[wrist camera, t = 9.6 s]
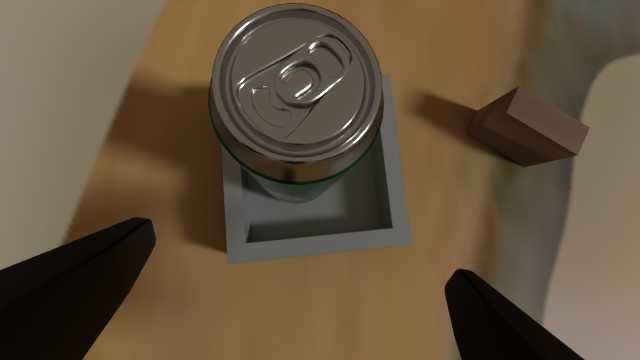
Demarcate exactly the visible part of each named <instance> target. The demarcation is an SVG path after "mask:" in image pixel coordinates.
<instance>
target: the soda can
mask: <svg viewBox="0 0 640 360" xmlns="http://www.w3.org/2000/svg"><path fill="white" fill-rule="evenodd" d="M208 105H209V111H210V118H211V121H212V124H213V127H214V130H215V132H216V134H217V136H218V138H219V140H220V142H221V144H222V145H223V146H224V148H225V149H226V150H227V151H228V153H229V154H230V155H231V156H232V157H233V158H234V159H235V160H236V161H237V162H238V163H239V164H240V165H241V166H242V167H243V168H244V169H245V170H246V171H247V172H248V173H249V174H250V175H251V176H252V177H253V178H254V179H255V180H256V181H257V182H258V183H259V184H260V185H261V186H262V187H263V188H264V189H265V190H266V191H267V192H268V193H269V194H270V195H272V196H273V197H275V198H276V199H278V200H280V201H283V202H286V203H291V204H301V203H307V202H310V201H312V200H314V199H316V198H318V197H319V196H321V195H322V194H323V193H324V192H325V191H326V190H328V189H329V188H330V187H331V186H332V185H333V184H334V183H336V182H337V181H338V180H339V179H340V178H341V177H342V176H343V175H345V174H346V173H347V172H348V171H349V170H350V169H351V168H352V167H354V166H355V165H356V164H357V163H358V162H359V161H360V160H361V159H362V158H363V157H364V156H365V155H366V153H367V152H368V151H369V149H370V148H371V146H372V145H373V143H374V142H375V139H376V137H377V135H378V133H379V130H380V127H381V123H382V119H383V112H384V95H383V88H382V77H381V71H380V67H379V63H378V60H377V58H376V55H375V53H374V51H373V49H372V47H371V46H370V44H369V42H368V41H367V39H366V38H365V37H364V36H363V34H362V33H361V32H360V31H359V30H358V29H357V28H356V27H355V26H354V25H353V24H351V23H350V22H349V21H347V20H346V19H344V18H343V17H341V16H340V15H338V14H336V13H334V12H332V11H330V10H328V9H325V8H321V7H318V6H315V5H309V4H302V3H287V4H278V5H274V6H270V7H267V8H264V9H262V10H259V11H257V12H255V13H253V14H251V15H249V16H248V17H246V18H245V19H243V20H242V21H241V22H240V23H238V24H237V25H236V26H235V27H234V28H233V29H232V30H231V31H230V33H229V34H228V35H227V36H226V37H225V39H224V41H223V42H222V44H221V46H220V48H219V50H218V52H217V55H216V58H215V61H214V66H213V71H212V77H211V82H210V87H209V104H208Z"/></svg>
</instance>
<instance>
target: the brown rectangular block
mask: <svg viewBox="0 0 640 360" xmlns="http://www.w3.org/2000/svg"><path fill="white" fill-rule="evenodd" d="M588 130H589V127H588V126H586V125H584V124H583V123H581V122H579V121H578V120H576V119H574V118H573V117H571V116H569V115H568V114H566V113H564V112H562V111H561V110H559V109H557V108H556V107H554V106H552V105H551V104H549V103H547V102H546V101H544V100H542V99H541V98H539V97H537V96H536V95H534V94H532V93H530V92H529V91H527V90H525V89H524V88H522V87H520V86H518V87H517V88H515V89H513V90H512V91H510V92H508V93H507V94H505V95H503V96H502V97H500V98H498V99H496V100H495V101H493V102H491V103H490V104H488V105H486V106H485V107H483V108H481V109H480V110H478V111H477V113H476V115H475V117H474V119H473V121H472V123H471V125H470V127H469V129H468V131H467V133H468V134H470V135H472V136H473V137H475V138H477V139H479V140H480V141H482V142H484V143H485V144H487V145H489V146H490V147H492V148H494V149H495V150H497V151H499V152H501V153H502V154H504V155H506V156H507V157H509V158H511V159H512V160H514V161H516V162H517V163H519V164H521V165H523V166H524V167H527V166H532V165H536V164H541V163H545V162H549V161H554V160H558V159H563V158H567V157H572V156H576V155H578V154H579V152H580V149H581V147H582V144H583V142H584V140H585V137H586V135H587V133H588Z"/></svg>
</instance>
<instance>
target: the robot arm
mask: <svg viewBox="0 0 640 360" xmlns="http://www.w3.org/2000/svg"><path fill="white" fill-rule="evenodd" d="M155 242H156V237H155V233H154V229H153V224H152V221H151V220H150V219H147V218H141V217H134V218H131V219H128V220H126V221H123V222H121V223H118V224H116V225H113V226H111V227H108V228H106V229H103V230H101V231H98V232H95V233H93V234H90V235H88V236H85V237H83V238H80V239H78V240H75V241H73V242H70V243H68V244H65V245H63V246H60V247H58V248H55V249H52V250H50V251H47V252H45V253H42V254H40V255H37V256H35V257H32V258H30V259H27V260H25V261H22V262H20V263H17V264H15V265H12V266H9V267H7V268H4V269H2V270H0V360H82V359H83V358H84V356H85V355H86V353H87V352H88V351H89V349H90V348H91V346H92V345H93V344H94V342H95V341H96V339H97V338H98V336H99V335H100V334H101V332H102V331H103V329H104V328H105V326H106V325H107V324H108V322H109V321H110V319H111V318H112V316H113V315H114V314H115V312H116V311H117V309H118V308H119V306H120V305H121V304H122V302H123V301H124V299H125V298H126V296H127V295H128V293H129V292H130V290H131V288H132V287H133V285H134V283H135V281H136V280H137V278H138V276H139V274H140V272H141V270H142V269H143V267H144V265H145V263H146V261H147V259H148V258H149V256H150V254H151V252H152V250H153V248H154V246H155ZM445 296H446V301H447V305H448V310H449V314H450V319H451V323H452V328H453V332H454V336H455V340H456V343H457V346H458V349H459V352H460V355H461V358H462V360H584V359H583V358H582V357H580V356H579V355H578V354H577V353H575V352H574V351H573V350H572V349H570V348H569V347H568V346H567V345H565V344H564V343H563V342H561V341H560V340H559V339H558V338H556V337H555V336H554V335H552V334H551V333H550V332H549V331H548V330H546V329H545V328H544V327H542V326H541V325H540V324H539V323H537V322H536V321H535V320H534V319H532V318H531V317H530V316H528V315H527V314H526V313H525V312H523V311H522V310H521V309H520V308H518V307H517V306H516V305H515V304H513V303H512V302H511V301H509V300H508V299H507V298H506V297H504V296H503V295H502V294H501V293H499V292H498V291H497V290H496V289H494V288H493V287H492V286H490V285H489V284H488V283H487V282H485V281H484V280H483V279H482V278H480V277H479V276H478V275H477V274H475V273H474V272H472V271H470V270H465V269H457V270H456V271H455V272H454V274H453V275H452V276H451V278H450V279H449V280H448V282H447V283H446V285H445Z"/></svg>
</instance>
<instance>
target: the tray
mask: <svg viewBox="0 0 640 360" xmlns="http://www.w3.org/2000/svg"><path fill="white" fill-rule="evenodd" d="M381 77H382V88H383V95H384V112H383V119H382V123H381V127H380V130H379V133H378V135H377V137H376V139H375V142H374V143H373V145H372V146H371V148H370V149H369V151H368V152H367V153H366V155H365V156H364V157H363V158H362V159H361V160H360V161H359V162H358V163H357V164H356V165H355V166H354V167H352V168H351V169H350V170H349V171H348V172H347V173H346V174H345V175H343V176H342V177H341V178H340V179H339V180H338V181H337V182H336V183H334V184H333V185H332V186H331V187H330V188H329V189H328V190H326V191H325V192H324V193H323V194H322V195H321V196H319V197H318V198H316V199H314V200H312V201H310V202H307V203H301V204H291V203H286V202H283V201H280V200H278V199H276V198H275V197H273V196H272V195H270V194H269V193H268V192H267V191H266V190H265V189H264V188H263V187H262V186H261V185H260V184H259V183H258V182H257V181H256V180H255V179H254V178H253V177H252V176H251V175H250V174H249V173H248V172H247V171H246V170H245V169H244V168H243V167H242V166H241V165H240V164H239V163H238V162H237V161H236V160H235V159H234V158H233V157H232V156H231V155H230V154H229V153H228V151H227V150H226V149H225V148H224V146H223V145H222V144H221V149H222V167H223V186H224V205H225V223H226V242H227V260H228V264H234V263H243V262H252V261H261V260H270V259H279V258H289V257H298V256H307V255H316V254H325V253H334V252H343V251H352V250H361V249H370V248H380V247H389V246H398V245H407V244H412V242H411V234H410V227H409V219H408V212H407V204H406V197H405V189H404V182H403V174H402V167H401V159H400V152H399V144H398V137H397V129H396V122H395V114H394V107H393V99H392V92H391V84H390V77H389V75H381Z"/></svg>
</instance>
